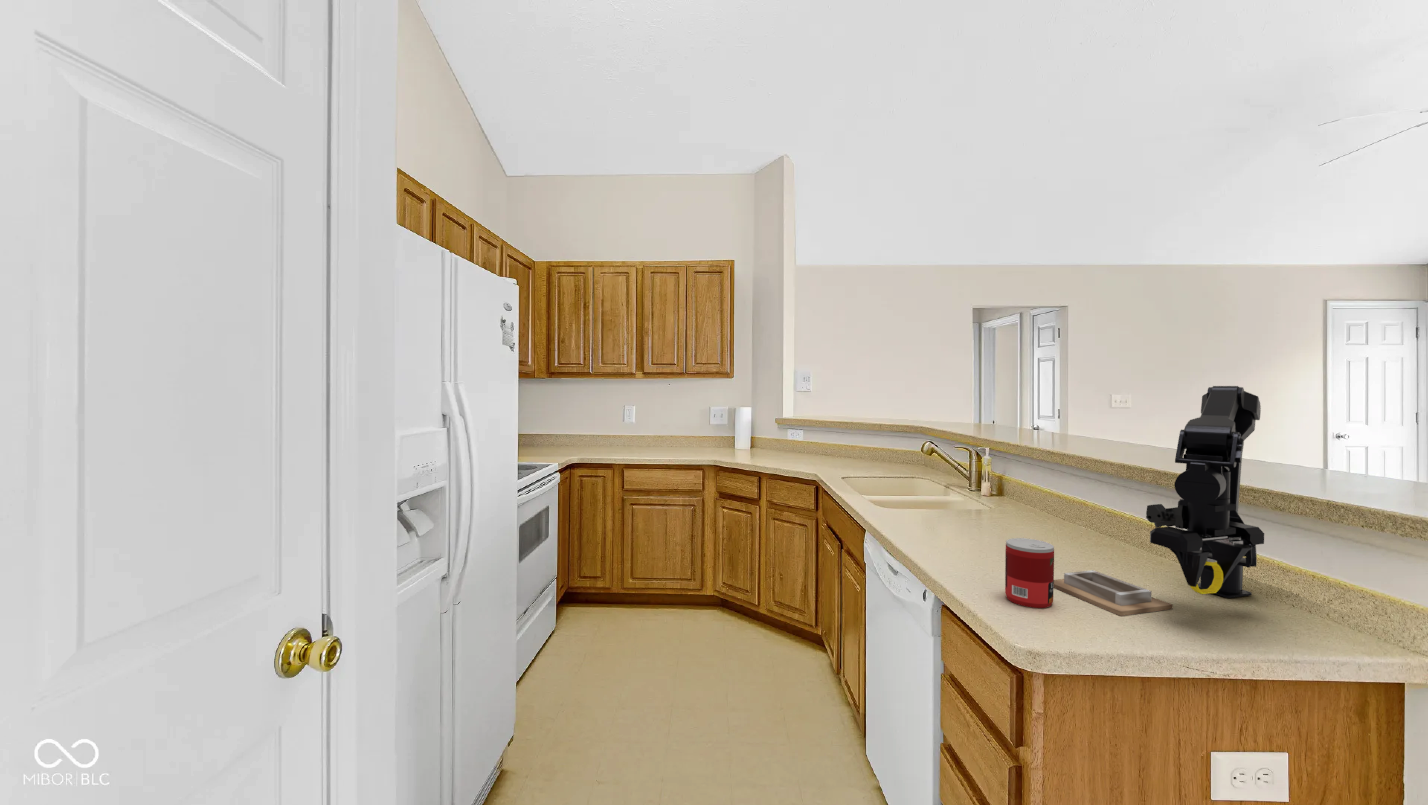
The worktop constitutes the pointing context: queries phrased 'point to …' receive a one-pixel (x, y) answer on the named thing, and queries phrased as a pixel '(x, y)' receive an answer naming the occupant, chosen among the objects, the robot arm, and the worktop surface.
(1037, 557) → the canned food
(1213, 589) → the watch
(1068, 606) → the worktop surface
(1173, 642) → the worktop surface
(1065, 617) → the worktop surface
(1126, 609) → the track board
